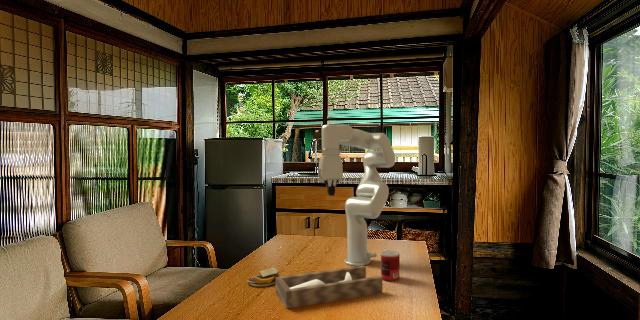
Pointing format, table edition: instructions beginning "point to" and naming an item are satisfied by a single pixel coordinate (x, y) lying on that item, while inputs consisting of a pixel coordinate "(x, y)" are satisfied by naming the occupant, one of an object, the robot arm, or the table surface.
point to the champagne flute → (319, 282)
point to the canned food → (390, 266)
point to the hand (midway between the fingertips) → (331, 195)
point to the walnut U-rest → (326, 286)
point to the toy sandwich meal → (264, 278)
